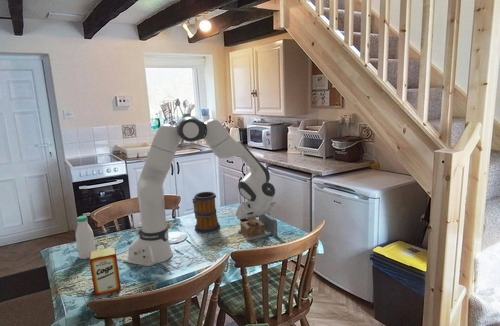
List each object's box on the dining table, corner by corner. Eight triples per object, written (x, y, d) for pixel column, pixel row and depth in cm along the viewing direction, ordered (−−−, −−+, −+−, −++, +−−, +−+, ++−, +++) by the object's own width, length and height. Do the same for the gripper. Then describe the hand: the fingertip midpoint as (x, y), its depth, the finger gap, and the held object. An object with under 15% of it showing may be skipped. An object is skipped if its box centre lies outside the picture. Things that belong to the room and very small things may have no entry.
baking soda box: (119, 281, 141) (115, 246, 138) (121, 289, 135) (115, 252, 132) (95, 287, 137) (89, 251, 134) (95, 296, 131) (89, 258, 128)
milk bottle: (99, 254, 167) (94, 215, 162) (85, 261, 160) (79, 221, 156) (89, 250, 170) (84, 213, 166) (75, 257, 164) (69, 218, 160)
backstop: (249, 243, 171) (248, 226, 169) (236, 230, 187) (235, 215, 185) (277, 236, 177) (277, 220, 175) (262, 225, 193) (261, 210, 192)
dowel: (248, 229, 179) (247, 211, 177) (249, 226, 183) (248, 208, 181) (255, 229, 178) (255, 211, 176) (257, 226, 182) (256, 209, 180)
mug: (185, 226, 196) (182, 193, 192) (205, 219, 206) (203, 187, 201) (204, 236, 182) (201, 200, 178) (225, 228, 192) (223, 194, 187)
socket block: (247, 239, 175) (247, 228, 174) (240, 233, 183) (240, 222, 182) (265, 235, 179) (264, 224, 178) (257, 229, 187) (257, 219, 186)
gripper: (275, 196, 175) (267, 208, 186) (238, 203, 167) (232, 215, 178) (279, 206, 172) (271, 218, 183) (242, 214, 164) (235, 226, 175)
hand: (251, 217), depth 180 cm, fingers closed on dowel, 4 cm apart
